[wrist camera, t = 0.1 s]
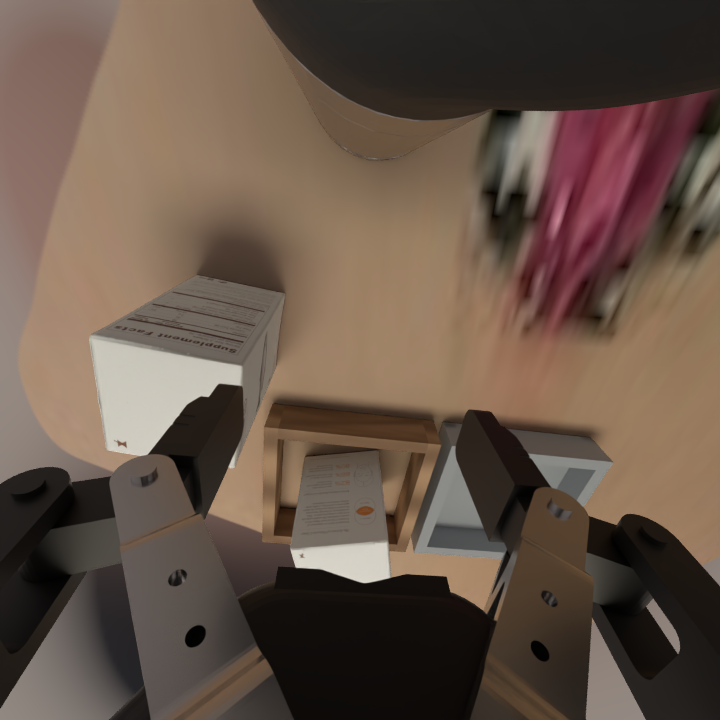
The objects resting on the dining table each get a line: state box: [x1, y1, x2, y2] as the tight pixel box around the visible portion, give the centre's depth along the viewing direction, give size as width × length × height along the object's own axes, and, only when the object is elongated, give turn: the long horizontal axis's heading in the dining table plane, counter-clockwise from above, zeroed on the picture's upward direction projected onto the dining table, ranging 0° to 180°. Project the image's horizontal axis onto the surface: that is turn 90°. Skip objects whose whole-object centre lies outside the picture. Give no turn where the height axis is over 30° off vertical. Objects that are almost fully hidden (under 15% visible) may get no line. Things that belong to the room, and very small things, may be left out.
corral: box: [262, 404, 441, 552], centre depth 35 cm, size 16×16×4 cm
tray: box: [411, 422, 613, 559], centre depth 37 cm, size 16×16×4 cm
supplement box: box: [89, 275, 285, 468], centre depth 23 cm, size 7×7×13 cm
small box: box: [290, 450, 391, 583], centre depth 32 cm, size 8×6×10 cm
